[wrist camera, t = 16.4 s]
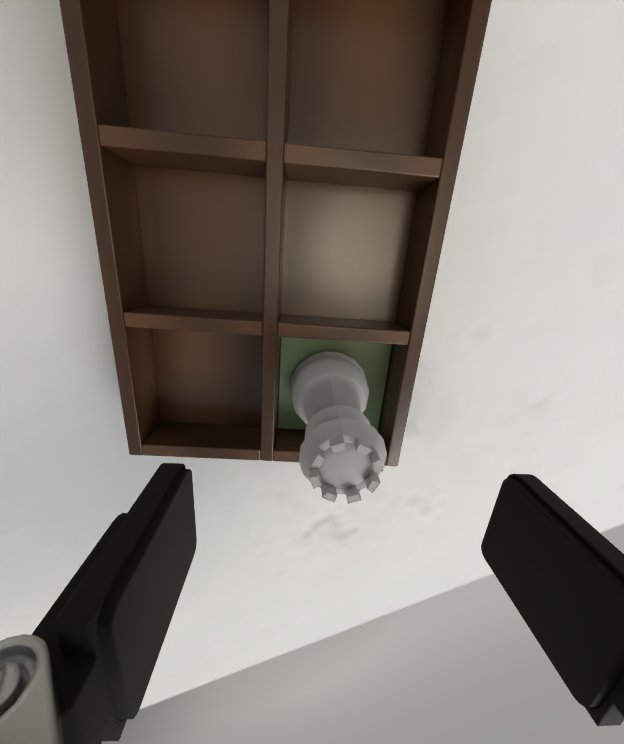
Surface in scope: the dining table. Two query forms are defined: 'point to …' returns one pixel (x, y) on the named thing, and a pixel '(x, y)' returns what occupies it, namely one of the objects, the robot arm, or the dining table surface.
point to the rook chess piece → (336, 426)
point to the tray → (267, 201)
